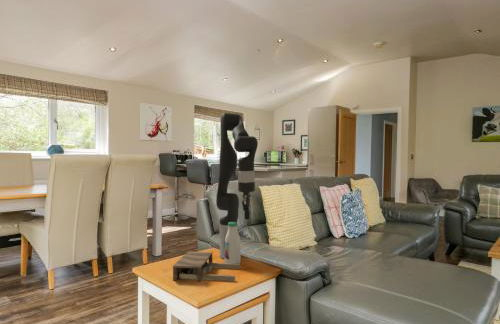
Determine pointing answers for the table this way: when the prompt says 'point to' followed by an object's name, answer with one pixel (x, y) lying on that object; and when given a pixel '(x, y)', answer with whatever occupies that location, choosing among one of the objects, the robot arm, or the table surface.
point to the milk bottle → (232, 245)
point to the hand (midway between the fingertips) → (247, 219)
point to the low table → (200, 267)
